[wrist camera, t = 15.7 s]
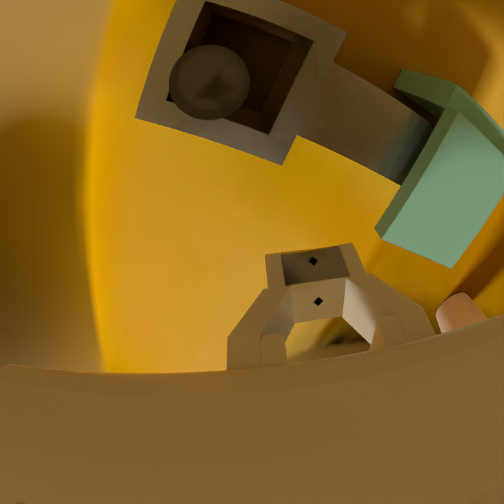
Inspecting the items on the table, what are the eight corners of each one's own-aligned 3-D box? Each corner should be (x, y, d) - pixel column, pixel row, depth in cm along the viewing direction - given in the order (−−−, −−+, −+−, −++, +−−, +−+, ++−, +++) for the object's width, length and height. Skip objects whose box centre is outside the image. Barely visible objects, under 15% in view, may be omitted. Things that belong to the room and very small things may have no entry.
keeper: (342, 181, 16) (381, 239, 12) (402, 68, 12) (469, 88, 8) (407, 211, 17) (451, 268, 13) (463, 116, 13) (526, 152, 9)
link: (159, 99, 13) (134, 117, 10) (202, -8, 10) (189, -28, 6) (406, 199, 17) (439, 237, 13) (452, 122, 14) (496, 148, 10)
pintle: (239, 43, 11) (243, 38, 7) (247, 87, 13) (255, 113, 8) (191, 52, 12) (161, 55, 7) (199, 96, 13) (178, 127, 8)
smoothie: (452, 331, 26) (502, 448, 15) (410, 328, 25) (462, 468, 14) (489, 285, 22) (557, 407, 11) (451, 276, 21) (530, 426, 10)
